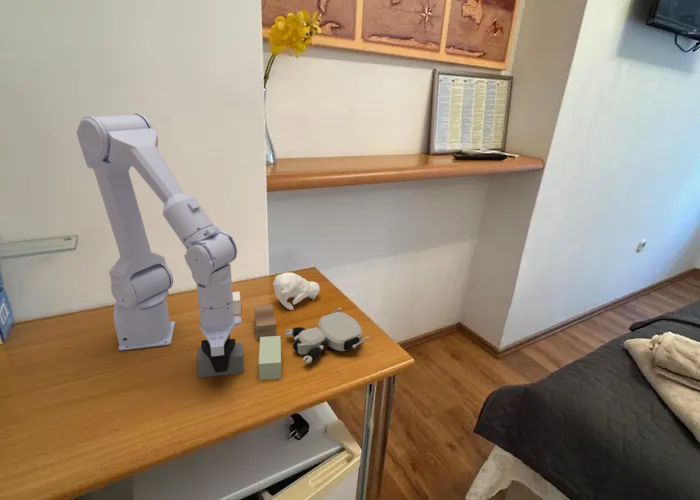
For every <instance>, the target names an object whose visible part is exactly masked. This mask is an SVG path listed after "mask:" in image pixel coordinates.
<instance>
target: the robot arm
mask: <svg viewBox="0 0 700 500" xmlns="http://www.w3.org/2000/svg"><path fill="white" fill-rule="evenodd" d="M76 135H77V136H76V137H77V139H78V142H79V147H80V149H81V152H82V156H83V158H84V161H85V163H86V167H87V168H89V169H92V170H93V172H94V175H95V179H96V182H97V185H98V187H99V192H100V195H101V198H102V202H103V205H104V208H105V211H106V214H107V217H108V221H109V224H110V227H111V230H112V234H113V237H114V240H115V243H116V246H117V249H118V254H119V256H120V257H119V258H118V260H117V261H116V262H115V264H114V265H113V266H112V267H111V269H110V270H109V272H108V273H109V277H110V284H111V286H110V291H111V294H112V297H113V298H114V300H115V303H114V307H113V323H114V327H115V328H114V329H115V332H116V337H117V341H118V345H119V346H118V351H128V350H135V349H138V350H139V349H145V348H151V347H152V348H153V347H161V346H169V345H171V344H172V341H173V336H174V330H175V326H176V322H175V321H174V320H173V321H172V320H171V321H170V315H169V308H168V301H167V297H168V296H169V294H170V292H169V290H170V289H172V287H173V285H174V276H173V273H172V270H171V269H170V268H169V266H168V264H167V262H166V258H165V256H164V255H161V254H158V253H156V252H152V250H151V247H150V243H149V239H148V236H147V233H146V230H145V226H144V222H143V219H142V215H141V211H140V207H139V204H138V201H137V197H136V193H135V190H134V187H133V183H132V179H131V175H130V172H129V171H130V169H131V168H134V169H135V170H136V172H137V173H138V174H139V175H140V177H141V178H142V179H143V180H144V181H145V183H146V184H147V185H148V186H149V187H150V189H151V190H152V191H153V192H154V194H155V195H156V196H157V197H158V198H159V200H160V201H161V202H162V204H163V208H162V216H163V217H164V219H165V220H166V222H167V223H168V225H169V226H170V228H171V229H172V230H173V232H174V233H175V235H176V236H177V238H178V239H179V241H180V242H181V243H182V245H183V246H184V247H185V250H186V251H185V254H184V255H183V256H184V260H185V262H186V264H187V266H188V268H189V269H190V272H191V276H192V277H191V278H192V279H193V281H194V283H195V284H196V291H197V292H196V294H197V301H198V309H199V310H198V311H199V318H200V321H199V328H200V331H201V332H202V334H203V336H204V338H205V339H201V345H200V346H201V349H202V351H203V352H204V353H205V354H206V355H207V356H208V357H209V359H210V361H211V363H212V366H213V368H214V370H215V372H216V373H217V372H224V371H227V370H228V365H229V358H230V354H231V352H232V350H233V349H234V347H235V343H236V338H231V333H232V332H233V330H234V328H235V327H236V326H241V325H242V317H241V316H238V315H237V316H236V315H234V308H233V293H232V292H233V284H232V283H233V282H232V268H231V263H232V262H234V261H235V260H236V258H237V256H238V247H237V244H236V242H235V240H234V239H233V236H232V235H231V234H229V232H227V231H225V230H222V229H221V227H219V226H218V225H214V224H213V222H212V220H211V219H210V218H209V215H207V214H206V212H205V209H204V208H203V207H202V206H201V204H200V203H199V202H198V200H197V199H196V197H195V196H192V195H190V194H189V195H188V194H185V193H184V192H183V190H182V189H181V187H180V185H179V183H178V182H177V180H176V179H175V176H174V175H173V173H172V171H171V169H170V167H169V166H168V165H167V162H166V161H165V159H164V157H163V156H162V154H161V152H160V150H159V149H158V145H159V135H158V133H157V132H156V130H155V128H154V127H153V125H152V122H151V121H150V120H149V119H148V117H146V116H145V115H144V114H143V113H133V114H122V115H121V114H119V115H103V116H102V115H100V116H99V115H98V116H93V115H86V116H83V117H82V119H81V120H80V122H79V125H78V128H77V130H76Z"/></svg>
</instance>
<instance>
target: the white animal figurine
mask: <svg viewBox="0 0 700 500" xmlns="http://www.w3.org/2000/svg"><path fill="white" fill-rule="evenodd" d="M272 285H273V288H274V293H275V297H276V299H277V300H278V301H279V302H280V303H281V304H282V305H283V307H284V308H285V309H288V310H289V311H293V310H294V308H295V307H294V305H296V304H298V303H300V302H301V301H303V300H304V299H305V298H309V299H312V301H314V300H315V299H316V298H317V295H318V294H319V293H320V291H321V288H320V287H321V286H320V285H319V283H318V282H315V281H308V280H307V279H305V278H304V277H302V276H301V275H299V274H296V273H294V272H283V273H281V274H278V275H276V276H275V278H274V281H273V282H272ZM289 298H294V299H293V300H292V303H291V302H289V301H288V299H289Z"/></svg>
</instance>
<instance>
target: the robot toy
mask: <svg viewBox="0 0 700 500" xmlns="http://www.w3.org/2000/svg"><path fill="white" fill-rule="evenodd" d="M342 309H343V308H342V307H339V308H337V309H336V310H334V311H333V312H331V313H329V314H326V315H323V316H321V318H320V319H319V321H318V327H317V326H316V327H311V328H305V327H301V326H299V327H298V326H297V327H296V326H295V327H293V328H292V329H290V328H289V329H286V330H285V333H284V334H285V337H291V336H293V338H294V341H293V344H292V348H293V350H294V351H295V352H297V354H299V355H305V356H304V357H303V358H302V361H303V363H305V364H307V365H309V364H311V363H312V362H315V361H316V360H317V359H318V358H320V355H321V353H322V351H323V350H324V351H325V350H327V349H328V348H329V347H330V348H331V349H333V350H335V351H340V352H345V351H349V350H351V349H356V348H357V347H359V346H360V345H361V344H362V343H364V342H365V341H367V340H369V339H370V338H371V336H366V337H365V338H364V339H363V328H362V327H361V325H360V323H359V322H358V321H357V320H356V319H355V318H353V317H352V316H350V315H349V314H347V313H345V312H340V311H341V310H342Z"/></svg>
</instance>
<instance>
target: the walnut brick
mask: <svg viewBox="0 0 700 500" xmlns="http://www.w3.org/2000/svg"><path fill="white" fill-rule="evenodd" d="M253 312H254V314H253V315H254V323H255V324H254V326H255V333H256V342H260V337H269V336H277V322H276V316H275V313H274V307H273V303H270V304H261V305H254V306H253Z"/></svg>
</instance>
